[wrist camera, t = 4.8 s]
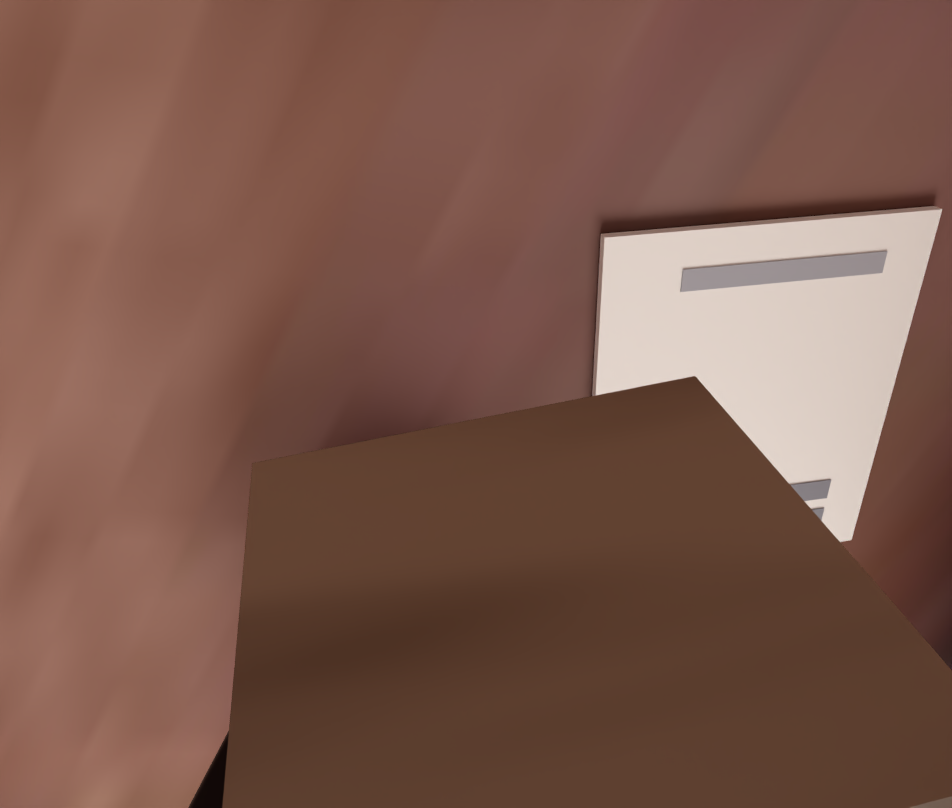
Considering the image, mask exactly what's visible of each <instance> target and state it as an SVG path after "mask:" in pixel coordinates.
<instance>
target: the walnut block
mask: <svg viewBox="0 0 952 808" xmlns="http://www.w3.org/2000/svg"><path fill="white" fill-rule="evenodd" d="M222 808H952V670H951V669H950V668H949V667H948V666H947V664H946V663H945V662H944V661H943V660H942V659H941V658H940V656H939V655H938V654H937V653H936V652H935V651H934V650H933V648H932V647H931V646H930V645H929V644H928V643H927V641H926V640H925V639H924V638H923V637H922V636H921V635H920V633H919V632H918V631H917V630H916V629H915V628H914V627H913V625H912V624H911V623H910V622H909V621H908V620H907V618H906V617H905V616H904V615H903V614H902V613H901V612H900V610H899V609H898V608H897V607H896V606H895V605H894V604H893V602H892V601H891V600H890V599H889V598H888V597H887V596H886V594H885V593H884V592H883V591H882V590H881V589H880V587H879V586H878V585H877V584H876V583H875V582H874V581H873V579H872V578H871V577H870V576H869V575H868V574H867V573H866V571H865V570H864V569H863V568H862V567H861V566H860V565H859V563H858V562H857V561H856V560H855V559H854V558H853V556H852V555H851V554H850V553H849V552H848V551H847V550H846V548H845V547H844V546H843V545H842V544H841V543H840V542H839V540H838V539H837V538H836V537H835V536H834V535H833V534H832V532H831V531H830V530H829V529H828V528H827V527H826V525H825V524H824V523H823V522H822V521H821V520H820V519H819V517H818V516H817V515H816V514H815V513H814V512H813V511H812V509H811V508H810V507H809V506H808V505H807V504H806V503H805V501H804V500H803V499H802V498H801V497H800V496H799V494H798V493H797V492H796V491H795V490H794V489H793V488H792V486H791V485H790V484H789V483H788V482H787V481H786V480H785V478H784V477H783V476H782V475H781V474H780V473H779V472H778V470H777V469H776V468H775V467H774V466H773V465H772V463H771V462H770V461H769V460H768V459H767V458H766V457H765V455H764V454H763V453H762V452H761V451H760V450H759V449H758V447H757V446H756V445H755V444H754V443H753V442H752V440H751V439H750V438H749V437H748V436H747V435H746V434H745V432H744V431H743V430H742V429H741V428H740V427H739V426H738V424H737V423H736V422H735V421H734V420H733V419H732V418H731V416H730V415H729V414H728V413H727V412H726V411H725V409H724V408H723V407H722V406H721V405H720V404H719V403H718V401H717V400H716V399H715V398H714V397H713V396H712V395H711V393H710V392H709V391H708V390H707V389H706V388H705V387H704V385H703V384H702V383H701V382H700V381H699V380H698V378H697V377H696V376H692V377H687V378H682V379H677V380H672V381H667V382H662V383H656V384H651V385H646V386H641V387H636V388H631V389H626V390H621V391H616V392H611V393H606V394H601V395H596V396H590V397H585V398H580V399H575V400H570V401H565V402H560V403H555V404H550V405H545V406H540V407H535V408H529V409H524V410H519V411H514V412H509V413H504V414H499V415H494V416H489V417H484V418H479V419H474V420H468V421H463V422H458V423H453V424H448V425H443V426H438V427H433V428H428V429H423V430H418V431H413V432H408V433H402V434H397V435H392V436H387V437H382V438H377V439H372V440H367V441H362V442H357V443H352V444H347V445H341V446H336V447H331V448H326V449H321V450H316V451H311V452H306V453H301V454H296V455H291V456H286V457H280V458H275V459H270V460H265V461H260V462H255V463H252V473H251V484H250V496H249V507H248V519H247V530H246V542H245V553H244V565H243V576H242V588H241V599H240V611H239V622H238V634H237V645H236V657H235V668H234V680H233V691H232V702H231V714H230V725H229V737H228V748H227V760H226V771H225V783H224V794H223V806H222Z"/></svg>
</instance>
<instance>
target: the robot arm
mask: <svg viewBox="0 0 952 808" xmlns="http://www.w3.org/2000/svg"><path fill="white" fill-rule="evenodd" d="M228 737H229V731H228V733H227V735H226V737H225V739H224V741H223V743H222V745H221V746H220V748H219V750H218V752H217V754H216V756H215V758H214V760H213V762H212V764H211V766H210V768H209V769H208V771H207V773H206V775H205V777H204V779H203V781H202V783H201V785H200V787H199V789H198V790H197V792H196V794H195V796H194V798H193V800H192V802H191V804H190V806H189V808H222V806H223V794H224V783H225V771H226V760H227V748H228Z"/></svg>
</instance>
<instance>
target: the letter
mask: <svg viewBox="0 0 952 808" xmlns="http://www.w3.org/2000/svg"><path fill="white" fill-rule="evenodd" d="M941 212H942V209H941V208H938V207H936V206H928V207H916V208H904V209H892V210H880V211H868V212H856V213H844V214H832V215H820V216H808V217H796V218H784V219H772V220H760V221H748V222H736V223H724V224H712V225H700V226H688V227H676V228H664V229H652V230H640V231H628V232H616V233H604V234H601V239H600V258H599V277H598V295H597V314H596V333H595V351H594V370H593V389H592V396H596V395H601V394H606V393H611V392H616V391H621V390H626V389H631V388H636V387H641V386H646V385H651V384H656V383H662V382H667V381H672V380H677V379H682V378H687V377H692V376H696V377H697V378H698V380H699V381H700V382H701V383H702V384H703V385H704V387H705V388H706V389H707V390H708V391H709V392H710V393H711V395H712V396H713V397H714V398H715V399H716V400H717V401H718V403H719V404H720V405H721V406H722V407H723V408H724V409H725V411H726V412H727V413H728V414H729V415H730V416H731V418H732V419H733V420H734V421H735V422H736V423H737V424H738V426H739V427H740V428H741V429H742V430H743V431H744V432H745V434H746V435H747V436H748V437H749V438H750V439H751V440H752V442H753V443H754V444H755V445H756V446H757V447H758V449H759V450H760V451H761V452H762V453H763V454H764V455H765V457H766V458H767V459H768V460H769V461H770V462H771V463H772V465H773V466H774V467H775V468H776V469H777V470H778V472H779V473H780V474H781V475H782V476H783V477H784V478H785V480H786V481H787V482H788V483H789V484H790V485H791V486H792V488H793V489H794V490H795V491H796V492H797V493H798V494H799V496H800V497H801V498H802V499H803V500H804V501H805V503H806V504H807V505H808V506H809V507H810V508H811V509H812V511H813V512H814V513H815V514H816V515H817V516H818V517H819V519H820V520H821V521H822V522H823V523H824V524H825V525H826V527H827V528H828V529H829V530H830V531H831V532H832V534H833V535H834V536H835V537H836V538H837V539H838V540H839V542H842V541H849V540H852V536H853V532H854V529H855V525H856V521H857V518H858V514H859V511H860V507H861V503H862V500H863V496H864V492H865V489H866V485H867V481H868V478H869V474H870V471H871V467H872V463H873V460H874V456H875V452H876V449H877V445H878V441H879V438H880V434H881V431H882V427H883V423H884V420H885V416H886V412H887V409H888V405H889V401H890V398H891V394H892V391H893V387H894V383H895V380H896V376H897V372H898V369H899V365H900V361H901V358H902V354H903V351H904V347H905V343H906V340H907V336H908V332H909V329H910V325H911V321H912V318H913V314H914V311H915V307H916V303H917V300H918V296H919V292H920V289H921V285H922V281H923V278H924V274H925V271H926V267H927V263H928V260H929V256H930V252H931V249H932V245H933V241H934V238H935V234H936V231H937V227H938V223H939V220H940V216H941Z"/></svg>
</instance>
